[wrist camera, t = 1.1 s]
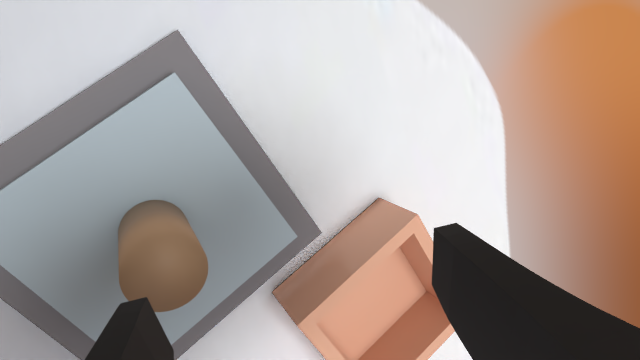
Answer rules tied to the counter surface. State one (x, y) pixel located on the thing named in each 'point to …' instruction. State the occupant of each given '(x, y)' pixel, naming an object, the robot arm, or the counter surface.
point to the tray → (370, 290)
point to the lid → (140, 217)
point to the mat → (93, 108)
